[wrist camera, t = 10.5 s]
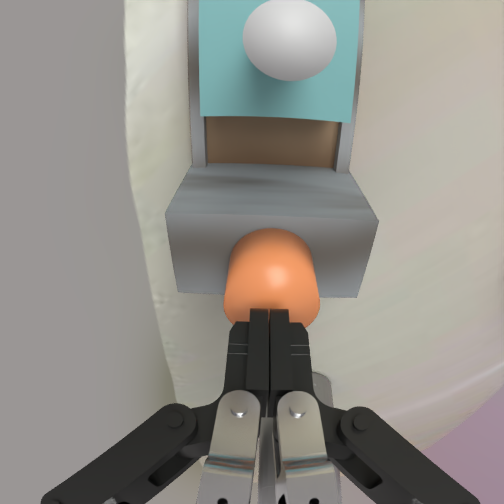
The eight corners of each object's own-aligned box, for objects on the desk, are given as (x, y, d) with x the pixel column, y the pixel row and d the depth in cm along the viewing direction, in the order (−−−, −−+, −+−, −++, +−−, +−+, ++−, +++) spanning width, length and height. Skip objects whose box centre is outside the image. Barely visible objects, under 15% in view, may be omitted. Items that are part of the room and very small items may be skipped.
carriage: (333, 107, 17) (398, 170, 8) (213, 102, 17) (162, 159, 9) (339, -2, 12) (417, -45, 4) (213, -9, 12) (157, -64, 4)
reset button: (306, 293, 16) (312, 338, 14) (230, 291, 17) (225, 336, 14) (317, 229, 14) (327, 272, 12) (228, 226, 14) (221, 269, 12)
